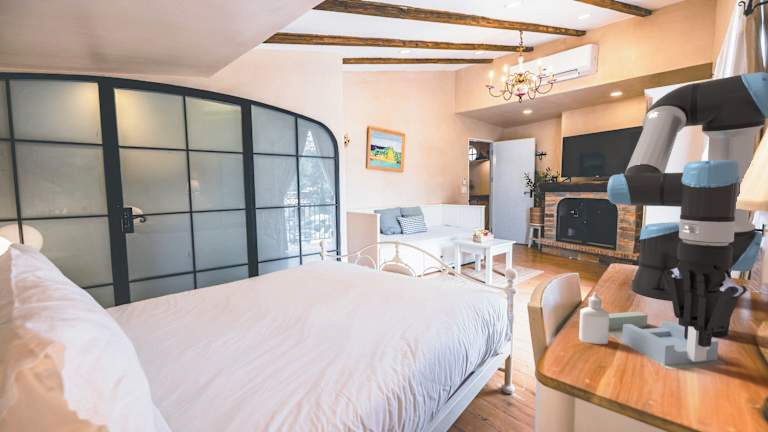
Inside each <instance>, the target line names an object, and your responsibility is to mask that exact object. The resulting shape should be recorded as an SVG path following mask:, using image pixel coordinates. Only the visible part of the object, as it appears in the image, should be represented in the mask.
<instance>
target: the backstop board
mask: <svg viewBox="0 0 768 432" xmlns="http://www.w3.org/2000/svg"><path fill="white" fill-rule="evenodd" d="M608 314H609V335H608V336H610V337H612V339H615V340H617V341H618V342H620V343H622V344H623V345H625V346H627V347H629V345H628V344H626V343H624V342H623V341H622V335H623V324H632V325H634V326H636V327H638V328H640V329H651V327H650V326H648V314H646V313H644V312H642V311H627V312H614V313H608ZM630 349H632V350H634V351H636V352H638V353H640V354H641V355H643V356H644V357H646V358H648V359H650V360H652V361H653V362H655V363H658V365H661V366H662V367H664V368H666V369H667V370H676V369H682V368H684V369H689V368H699V367H700V368H701V367H706V366H707V367H708V366H716V365H718V366H719V365H724V362H723V361H722V360H719V359H718V358H717V360H711V361H701V362H692V363H680V364H670V365H663V364H662V363H660V362H658V361H656V360H654V359H653V358H651V357H649V356H647V355H646V354H644V353H642V352H640V351H639V350H637V349H635V348H633V347H631V346H630Z"/></svg>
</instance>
